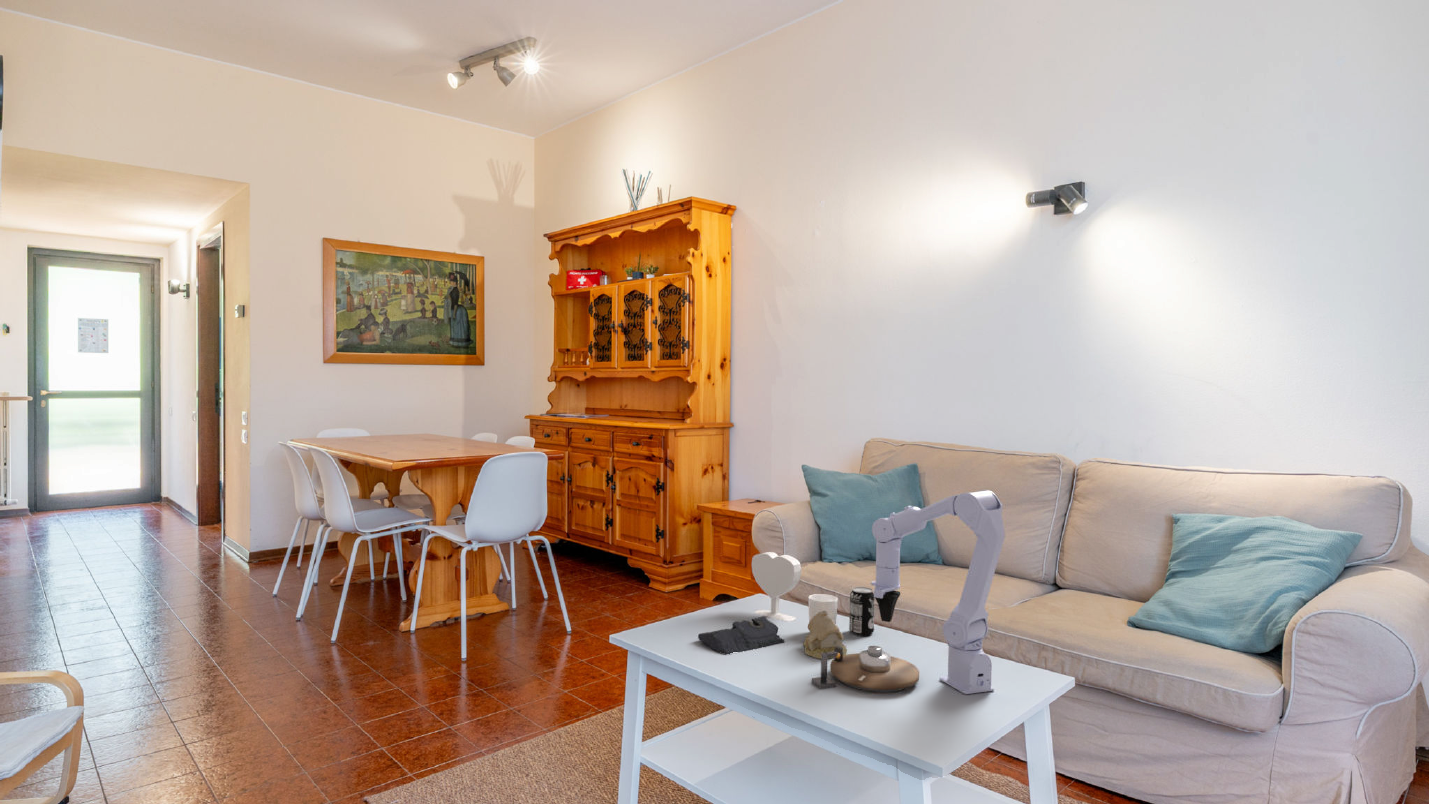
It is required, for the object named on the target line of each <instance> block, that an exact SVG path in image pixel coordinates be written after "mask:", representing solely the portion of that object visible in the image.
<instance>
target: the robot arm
mask: <svg viewBox="0 0 1429 804" xmlns="http://www.w3.org/2000/svg"><path fill="white" fill-rule="evenodd" d="M1003 509H1004V505H1003V504H1002V502H1001V500H1000V499H999V498H998V496H997V494H995V493H994V492H993V491H992V490H988V489H984V490H980V491H979V490H978V491H974V492H962V493H959V494H955V495H949V496H946V497H945V498H943V499H941V500H938V501H936V502H934V503H932V504H930V505H927V506H924V507H923V508H921V507H918V506H912V505H908V506H905V507H903V510H902V511H899V512H897V513H895V512H891V513H890V514H889V516H888V517H879V518H878V519H876V520H875V521H874V522H873V524H872V526H871V533H872V535H873V538H874V539H875V540H876V547H875V548H876V549H875V551H876V552H875V553H876V554H875V580H872V581H871V582H870V586H874V589H873V594H874V597H875V598H874V600H875V601H876V603H877V606H878V610H879V615H880V620H881V621H882V622H886V623H890V622H892V619H893V616H894V612H895V607H896V605H897V602H898V600H899V598H900V596H901V591H898V590H899V589H900V588H901V584H900V583H901V579H900V570H901V569H900V568H901V567H900V566H901V545H902V540H903V538H904V537H905V536H908V535H912V534H914V533H917V532H919V531H922V530H924V529H925V528H926V526H927V523H928V522H930V521H934V520H936V519H938V518H939V519H940V518H941V517H945V516H947V515H951V516H957V517H958V518H959V519H960V520H961V522H962V523H964V524H965V525H966V526H967V527H968V528H969V529H971V530H972V532H973V534H974V535H975V537H976V541H975V546H974V549H973V552H972V557H971V560H970V563H969V568H968V570H967V574H966V578H965V581H964V586H963V588H962V592H961V595H960V599H959V602H958V604H957V605H956V606H955V607H954V608H953V609H952V611H951V612H950V616H949V618H948V619H947V620H945V622H944V623H943V626H942V634H943V638H944V639H945V641H946V642H947V646H948V653H947V655H948V658H947V659H948V661H947V675H946V676H940V677H939V680H940V681H941V682H944V683H945V684H947V685H949V686H950V687H952V688H954V689H955V690H957V691H958V692H960V693H962V694H964V695H970V694H976V693H983V692H992V691H994V690H995V687H993V686H992V671H993V670H992V665H993V664H992V659H991V658H990V656H989V655H988V654H986V653H985V652H984V650H983V639H985V638H986V637H987V635H988V632H989V625H988V617H989V612H988V611H987V610H986V609H985V607H986V604H987V600H988V597H989V593H990V590H991V586H992V583H993V580H994V575H995V572H996V568H997V566H998V562H999V558H1000V555H1001V552H1002V549H1003V545H1004V541H1005V536H1006V533H1005V526H1004V525H1005V524H1004V521H1003V515H1002V513H1003Z"/></svg>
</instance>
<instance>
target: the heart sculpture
mask: <svg viewBox="0 0 1429 804" xmlns="http://www.w3.org/2000/svg"><path fill="white" fill-rule="evenodd" d="M751 558H752V559H751V572H752V575H753V577H754V579H755V582H756V584H758V586H759V587H760V588H761V590H762V591H763V592H764V593H765V594H766V595H767V596H768V597H769V598H770V599H771V600H770V603H771V604H770V610H768V609H759V610H756V611H754V614H756V615H760V616H762V617H768V618H771V619H775V620H780V621H782V622H783V621H784V622H793V621H795V620H796V619H797V617H795V616H791V615H787V614H784V613H781V612H780V597H781V596H783V595H786V594H787V593H790V592H791V591H792V590H793V589H794V588H796V586H797V585H798V584H799V582H800V580H801V575H802V566H801V562H800V561H799V560H798V559H797V558H795V557H794V556H791V555H789V554H782V555H778V554H777V553H776V552H773V551H768V552H767V551H765V552H761V553H757V554H755V555H753V556H752V557H751Z"/></svg>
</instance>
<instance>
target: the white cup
mask: <svg viewBox="0 0 1429 804" xmlns="http://www.w3.org/2000/svg"><path fill="white" fill-rule="evenodd" d="M807 598H808V623H809V622H810V620H811V619H812V618H813V616H815V615H816V614H817V613H819V612H821V611H826V612H827V616H828V617H830V618H831V619H832V621H833V622H834V624H835V625H837V614H838V613H837V612H838V597H837V596H835V595H831V594H826V593H825V594H824V593H814V594H811V595H808V597H807Z"/></svg>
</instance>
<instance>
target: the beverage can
mask: <svg viewBox="0 0 1429 804" xmlns="http://www.w3.org/2000/svg"><path fill="white" fill-rule="evenodd" d="M848 622H849V624H848V625H849V626H848V628H849V629H848V630H849V632H850V633H851V634H853V635H854V636H859V637H869V636H871V635H872V634H873V633H874V631H875V630H874V629H875V597H874V589H873V588H870V587H867V586H866V587H865V586H854V587H852V588H851V592H850V594H849V621H848Z"/></svg>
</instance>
